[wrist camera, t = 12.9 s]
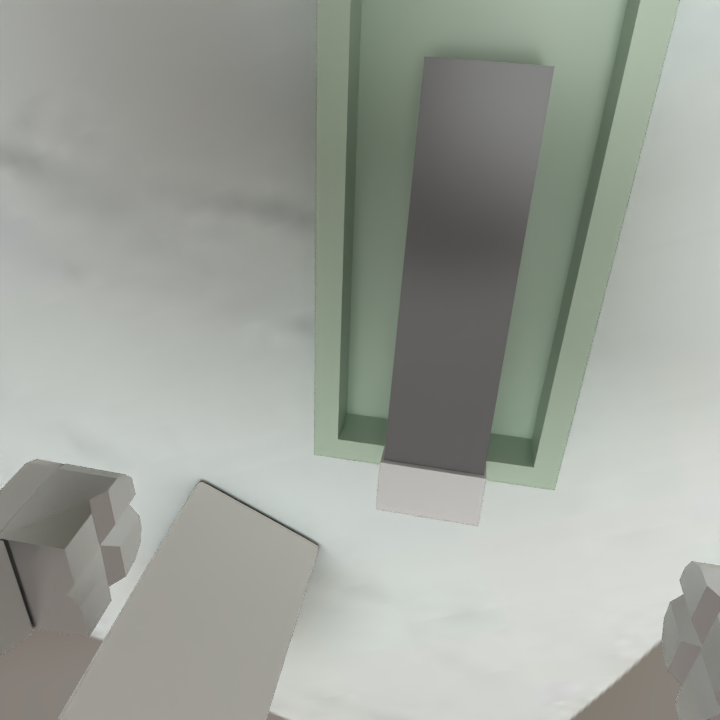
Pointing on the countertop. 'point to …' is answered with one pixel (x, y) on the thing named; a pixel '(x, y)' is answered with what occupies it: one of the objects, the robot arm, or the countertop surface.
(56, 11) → the countertop surface
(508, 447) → the tray
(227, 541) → the milk carton
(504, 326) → the dark grey bar
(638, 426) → the countertop surface
